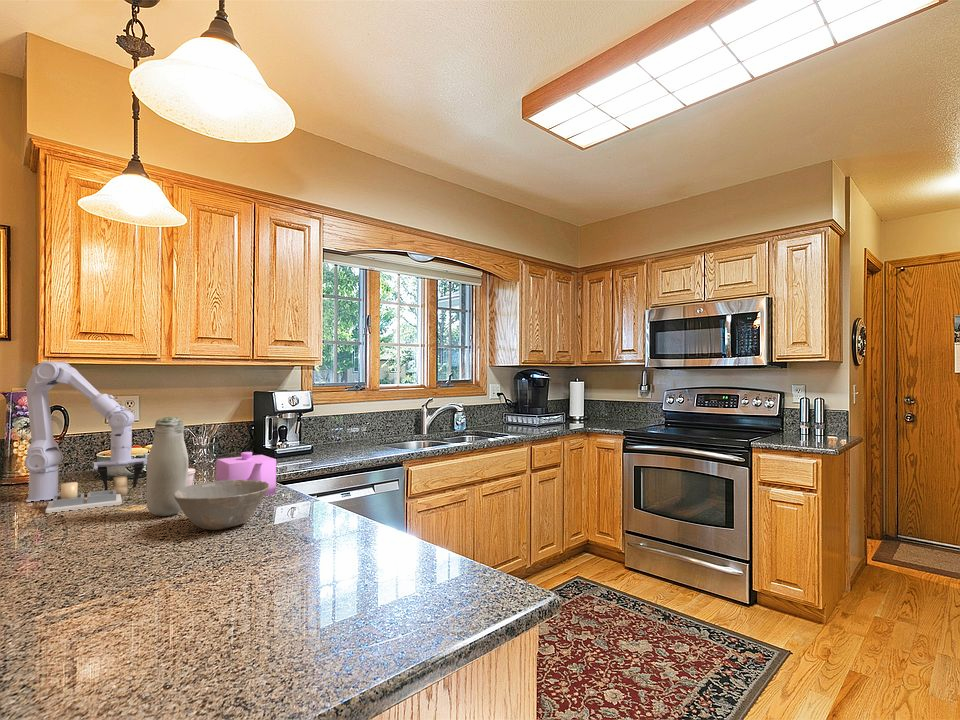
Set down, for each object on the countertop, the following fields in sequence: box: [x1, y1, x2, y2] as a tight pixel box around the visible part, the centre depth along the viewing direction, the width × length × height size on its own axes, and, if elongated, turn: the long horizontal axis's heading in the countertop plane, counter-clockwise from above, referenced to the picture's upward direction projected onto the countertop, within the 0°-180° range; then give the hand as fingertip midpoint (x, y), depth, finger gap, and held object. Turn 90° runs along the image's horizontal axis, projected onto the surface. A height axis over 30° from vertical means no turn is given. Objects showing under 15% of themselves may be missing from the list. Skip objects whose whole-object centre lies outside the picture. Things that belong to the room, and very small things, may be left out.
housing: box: [45, 481, 123, 514], centre depth 159 cm, size 12×18×7 cm, turn 126°
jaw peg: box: [112, 475, 129, 497], centre depth 172 cm, size 4×4×6 cm
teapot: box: [215, 451, 277, 496], centre depth 175 cm, size 15×25×14 cm, turn 43°
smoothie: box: [187, 467, 196, 486], centre depth 165 cm, size 6×6×14 cm
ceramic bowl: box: [174, 480, 270, 531], centre depth 139 cm, size 22×23×10 cm
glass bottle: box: [145, 416, 189, 517], centre depth 149 cm, size 10×10×28 cm
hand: (120, 488), depth 172 cm, fingers open, 7 cm apart
